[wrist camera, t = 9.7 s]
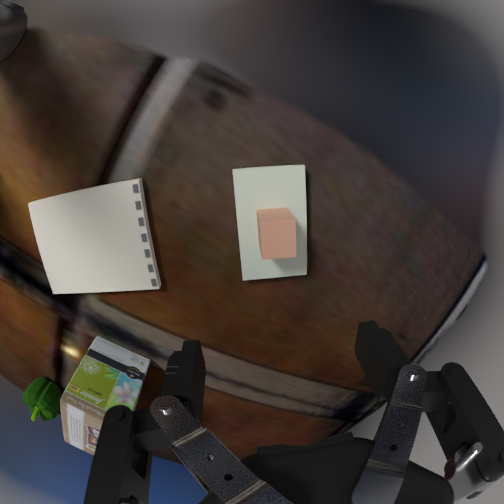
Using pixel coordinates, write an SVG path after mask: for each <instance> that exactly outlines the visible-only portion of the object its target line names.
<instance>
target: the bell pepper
mask: <svg viewBox="0 0 504 504" xmlns="http://www.w3.org/2000/svg"><path fill="white" fill-rule="evenodd" d="M61 397H62V394H61V390H60V388H59V387H58V386H57V384H55V383H54V382H52V381H49V380H48V379H47V378H45V377H38V378H37V379H35V380H34V381H33V382H32V383H31V384H29V386H28V387H27V389H26V390H25V392H24V395H23V401H24V402H25V403H26V404H27V405H28V406H29V409H30V411H31V413H33V414H32V417H31V420H32V421H34V422H35V419H36V416H37V415H38V416H40V417H41V418H42V419H43V421H48V420H50V419H53V418H55V417H56V416H57V414H58V412H59V409H60V399H61Z"/></svg>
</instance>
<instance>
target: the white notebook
mask: <svg viewBox="0 0 504 504" xmlns="http://www.w3.org/2000/svg"><path fill="white" fill-rule="evenodd" d="M28 206H29V211H30V216H31V220H32V224H33V229H34V233H35V237H36V240H37V244H38V248H39V251H40V255H41V258H42V262H43V265H44V268H45V271H46V274H47V277H48V280H49V283H50V286H51V289H52V291H53V294H68V293H94V292H115V291H134V290H151V289H160V287H161V281H160V276H159V272H158V267H157V262H156V258H155V253H154V248H153V243H152V238H151V232H150V227H149V221H148V215H147V209H146V203H145V197H144V190H143V183H142V178H138V179H133V180H127V181H121V182H116V183H111V184H105V185H100V186H96V187H91V188H86V189H81V190H77V191H73V192H68V193H64V194H60V195H56V196H52V197H48V198H44V199H40V200H36V201H33V202H30V203H28Z"/></svg>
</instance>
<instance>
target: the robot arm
mask: <svg viewBox="0 0 504 504" xmlns="http://www.w3.org/2000/svg"><path fill="white" fill-rule="evenodd" d="M26 26H27V15H26V14H25V13H24V7H22V6H20V5H18V4H16V3H13V2H11V1H9V0H0V62H1V61H2V60H4V59H6V58H7V57H8V56H9V55H10V54H11V53H12V52H13V51H14V49H15V48H16V47H17V45H18V44H19V42H20V40H21V38H22V37H23V34H24V32H25V29H26ZM355 353H356V356H357V358H358V360H359V362H360V364H361V366H362V368H363V370H364V372H365V374H366V377H367V379H368V381H369V383H370V385H371V387H372V389H373V391H374V393H375V395H376V397H377V399H378V401H382V400H387V402H388V404H387V406H386V409H385V412H384V414H383V417H382V420H381V422H380V425H379V428H378V430H377V432H376V435H375V437H374V439H373V441H372V440H369V439H366V438H358V437H355V438H354V437H353V434H352V432H348V433H344V434H339V435H334V436H330V437H327V438H325V439H323V440H320V441H318V442H316V443H313V444H311V445H308V446H297V445H282V444H280V445H271V446H261V447H257V453H255V454H252V455H250V456H247V457H245V458H243V459H242V460H240V461H239V460H238V459H237V458H236V457H235V456H234V455H233V454H232V453H231V452H230V451H229V450H228V449H227V448H226V447H225V446H224V445H223V444H222V443H221V442H220V441H219V440H218V439H217V438H216V437H215V436H214V435H213V434H212V432H211V431H210V430H208V429H207V428H206V427H205V428H203V427H202V426H201V422H202V410H203V398H204V387H205V376H206V367H205V361H204V357H203V353H202V349H201V344H200V341H199V340H192V341H184V342H183V347H182V351H174V353H173V354H172V355H171V356H170V357H169V360H168V364H167V368H166V372H165V376H164V380H163V384H162V388H161V392H160V396H159V397H158V398H157V399H155V400H154V401H153V402H152V404H151V406H150V407H148V408H144V409H139V410H135V411H132V410H131V409H130V408H129V407H127V406H125V405H115V406H113V407H111V408H109V409H108V410H107V411H106V413H105V415H104V419H103V422H102V426H101V429H100V433H99V437H98V441H97V445H96V449H95V453H94V457H93V461H92V465H91V470H90V475H89V479H88V484H87V489H86V494H85V499H84V504H148V498H149V484H150V474H151V464H152V454H153V451H154V450H159V449H163V448H168V447H171V448H172V449H173V450H174V452H175V453H176V454H177V456H178V457H179V458H180V460H181V461H182V462H183V463H184V465H185V466H186V467H187V468H188V470H189V471H190V472H191V473H192V475H193V476H194V477H195V478H196V480H197V481H198V482H199V483H200V484H201V486H202V487H203V488H204V489H205V490H206V491H207V492H208V494H207V496H206V497H205V498H204V499H203V500H202V501H201V502H200V503H199V504H455V503H457V502H459V501H461V500H462V499H464V498H467V499H471V498H474V497H476V496H477V495H479V494H480V493H481V492H483V491H484V490H485V489H487V488H488V487H489V486H491V485H492V484H493V483H495V482H496V481H497V480H498V479H499V478H501V477H502V476H503V475H504V431H503V429H502V427H501V425H500V424H499V422H498V420H497V419H496V417H495V415H494V414H493V412H492V410H491V409H490V407H489V405H488V404H487V402H486V401H485V399H484V398H483V396H482V394H481V393H480V391H479V390H478V388H477V387H476V385H475V384H474V382H473V381H472V379H471V378H470V376H469V375H468V374H467V372H466V371H465V369H464V368H463V367H462V366H461V365H459V364H457V363H454V362H450V363H446V364H445V365H443V367H442V369H441V371H426V370H425V369H424V368H423V367H422V366H420V365H418V364H412V363H411V361H410V360H409V358H408V357H407V355H406V354H405V352H404V351H403V349H402V348H401V347H400V346H399V344H398V342H397V341H396V339H395V338H394V336H393V335H392V334H391V333H390V332H389V331H387V330H386V329H384V328H381V329H380V328H379V327H378V325H377V324H376V322H375V321H374V320H372V321H366V322H361V323H359V325H358V331H357V337H356V343H355ZM422 412H425V413H426V415H427V417H428V419H429V421H430V423H431V425H432V427H433V429H434V432H435V434H436V436H437V438H438V440H439V442H440V445H441V447H442V449H443V452H444V454H445V456H446V459H447V463H446V464H445V467H444V472H445V475H444V477H442V476H440V475H438V474H436V473H434V472H432V471H430V470H428V469H426V468H424V467H422V466H420V465H418V464H416V463H414V462H412V461H410V460H409V457H410V454H411V451H412V448H413V444H414V441H415V438H416V434H417V430H418V426H419V423H420V418H421V415H422Z"/></svg>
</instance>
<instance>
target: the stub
mask: <svg viewBox="0 0 504 504" xmlns="http://www.w3.org/2000/svg"><path fill="white" fill-rule="evenodd" d="M233 180H234V192H235V203H236V214H237V225H238V235H239V246H240V256H241V267H242V277H243V280H255V279H266V278H276V277H287V276H297V275H307V214H306V180H305V165H284V166H267V167H253V168H240V169H233Z"/></svg>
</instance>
